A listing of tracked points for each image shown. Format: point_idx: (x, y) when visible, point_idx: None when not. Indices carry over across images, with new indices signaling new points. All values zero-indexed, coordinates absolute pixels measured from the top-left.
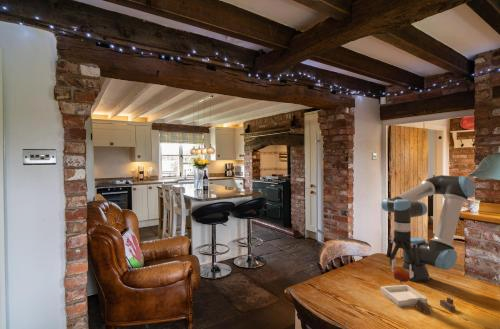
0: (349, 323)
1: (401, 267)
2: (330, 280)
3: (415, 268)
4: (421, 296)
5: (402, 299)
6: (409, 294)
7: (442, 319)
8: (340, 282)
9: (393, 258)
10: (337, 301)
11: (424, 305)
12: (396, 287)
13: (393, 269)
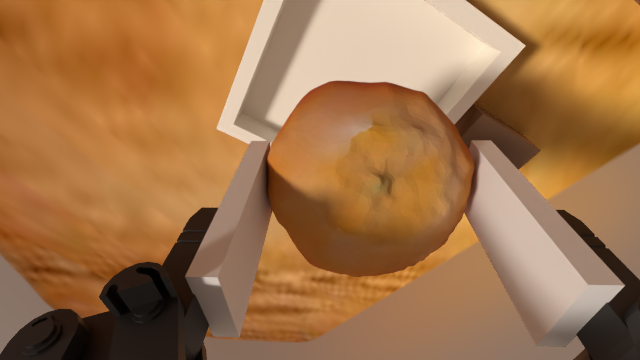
0: (315, 335)
1: (370, 247)
2: (4, 192)
3: (602, 242)
4: (479, 37)
5: None
6: (373, 6)
7: (581, 143)
8: (39, 174)
9: (192, 311)
10: None
11: (507, 143)
12: (274, 24)
13: (270, 213)
